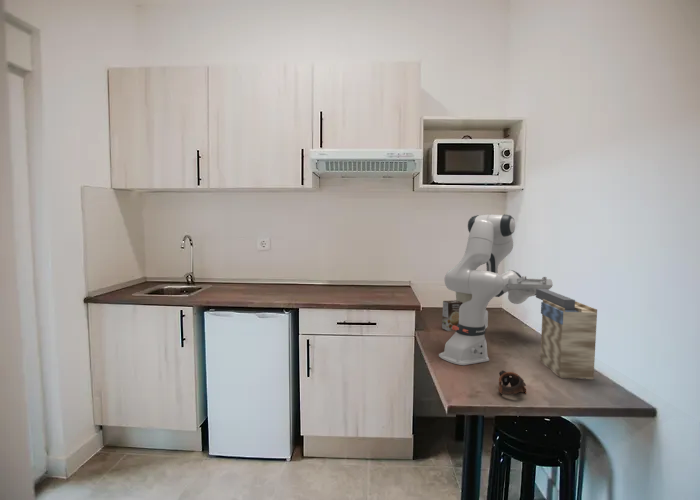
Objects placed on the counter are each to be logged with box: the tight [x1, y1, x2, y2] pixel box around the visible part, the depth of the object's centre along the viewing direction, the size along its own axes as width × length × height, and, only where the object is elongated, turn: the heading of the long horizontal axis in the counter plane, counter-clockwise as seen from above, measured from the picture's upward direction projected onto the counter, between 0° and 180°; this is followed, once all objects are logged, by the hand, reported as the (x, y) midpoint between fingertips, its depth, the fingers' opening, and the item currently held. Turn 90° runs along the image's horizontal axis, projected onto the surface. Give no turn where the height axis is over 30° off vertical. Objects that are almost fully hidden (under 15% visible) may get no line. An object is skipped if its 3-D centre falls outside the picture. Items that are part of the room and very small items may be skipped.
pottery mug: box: [498, 370, 527, 395], centre depth 127 cm, size 12×10×8 cm
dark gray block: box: [535, 289, 576, 310], centre depth 153 cm, size 26×4×4 cm, turn 175°
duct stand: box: [539, 299, 598, 380], centre depth 148 cm, size 18×13×27 cm
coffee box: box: [441, 299, 463, 332], centre depth 206 cm, size 9×6×16 cm
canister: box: [455, 292, 472, 303], centre depth 240 cm, size 18×18×21 cm
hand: (535, 277), depth 173 cm, fingers open, 8 cm apart
